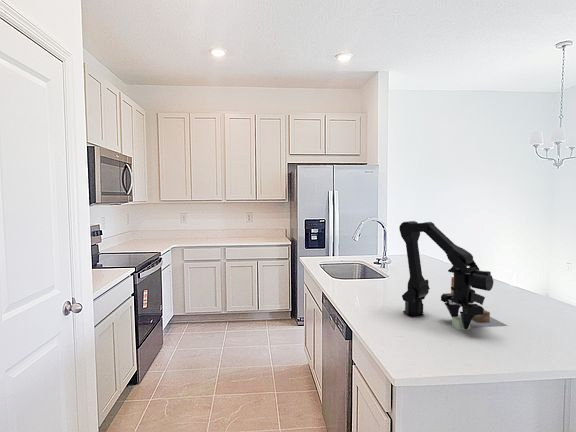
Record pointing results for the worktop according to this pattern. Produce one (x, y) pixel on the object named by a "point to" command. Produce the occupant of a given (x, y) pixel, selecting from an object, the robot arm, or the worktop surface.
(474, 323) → the slate mat
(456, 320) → the sage block
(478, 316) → the walnut block
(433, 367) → the worktop surface
